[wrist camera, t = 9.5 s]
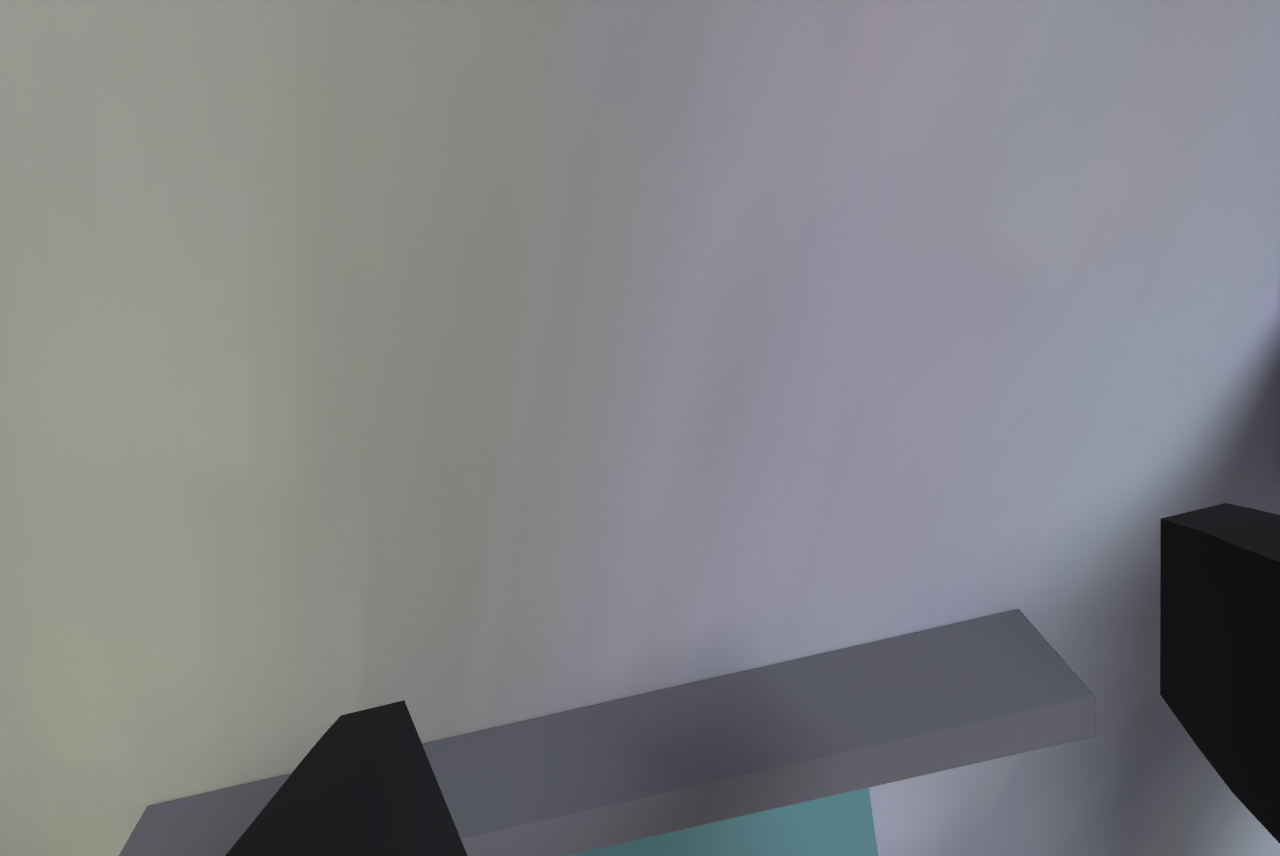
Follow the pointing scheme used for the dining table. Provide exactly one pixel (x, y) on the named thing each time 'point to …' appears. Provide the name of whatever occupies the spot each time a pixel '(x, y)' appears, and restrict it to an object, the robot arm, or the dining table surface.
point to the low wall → (717, 745)
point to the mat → (770, 833)
